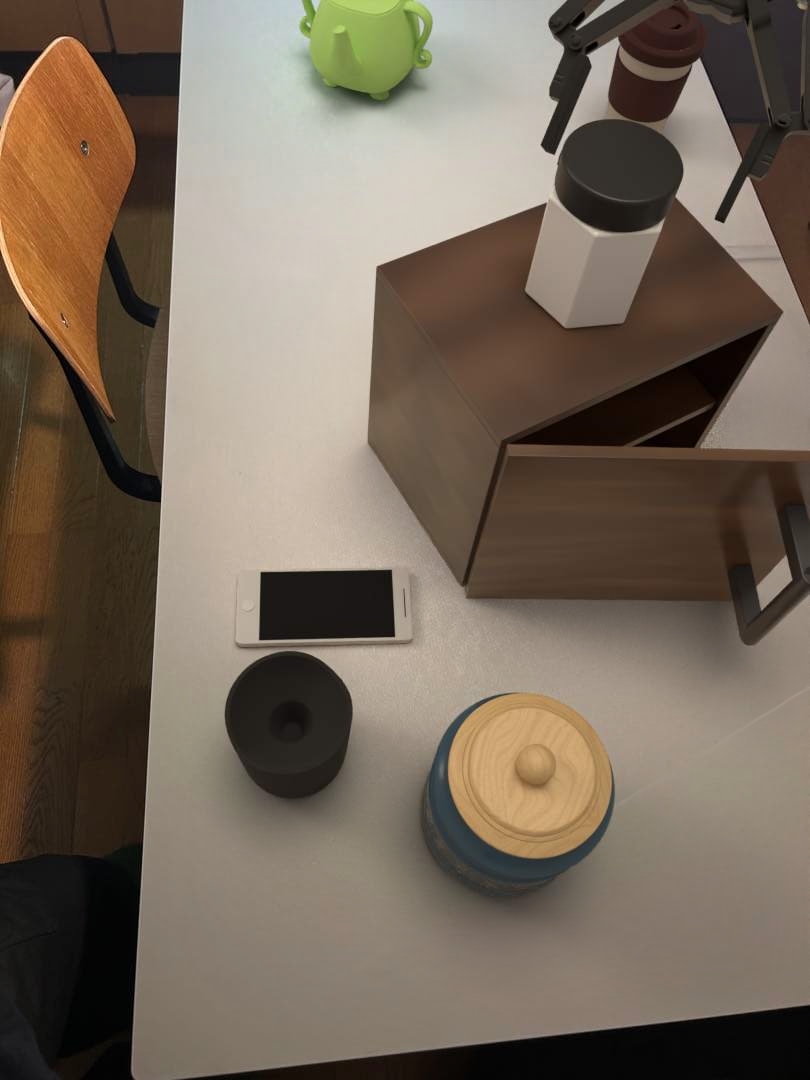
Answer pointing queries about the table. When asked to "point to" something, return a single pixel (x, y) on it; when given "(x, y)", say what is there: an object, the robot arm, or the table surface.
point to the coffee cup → (655, 66)
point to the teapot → (367, 42)
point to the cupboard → (545, 364)
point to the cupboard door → (648, 527)
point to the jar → (602, 221)
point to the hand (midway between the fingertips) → (631, 185)
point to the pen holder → (289, 723)
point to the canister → (516, 794)
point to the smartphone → (323, 607)
